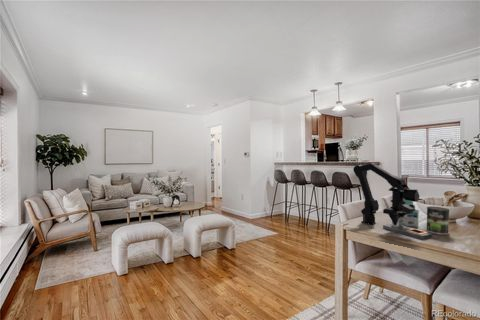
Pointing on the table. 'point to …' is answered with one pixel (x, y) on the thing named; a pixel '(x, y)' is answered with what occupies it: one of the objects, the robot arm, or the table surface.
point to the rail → (409, 231)
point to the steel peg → (398, 222)
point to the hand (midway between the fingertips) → (397, 224)
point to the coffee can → (438, 220)
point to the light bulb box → (411, 218)
